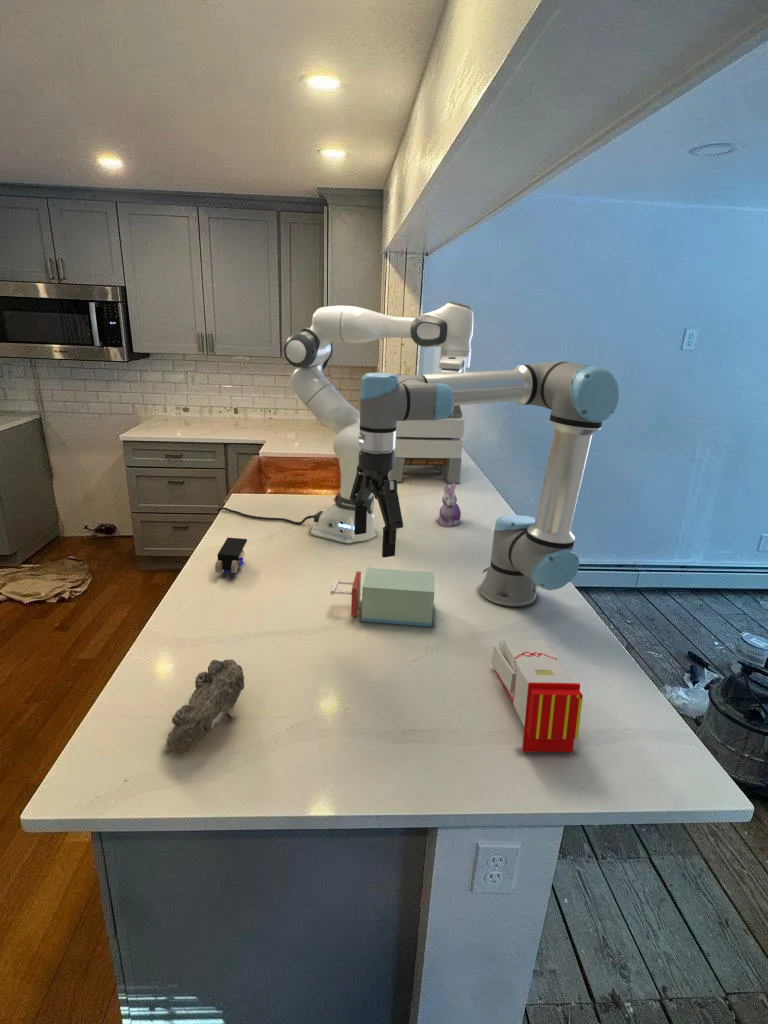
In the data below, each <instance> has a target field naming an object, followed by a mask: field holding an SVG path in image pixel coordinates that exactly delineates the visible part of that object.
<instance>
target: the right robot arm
mask: <svg viewBox="0 0 768 1024" xmlns="http://www.w3.org/2000/svg"><path fill="white" fill-rule="evenodd" d="M620 392H621V391H620V386H619V383H618V380H617V379H616V378H615V375H613V373H612V372H610V371H609V370H608V369H605V368H602V367H599V366H597V365H593V364H582V363H575V362H570V361H564V360H563V361H561V360H558V361H547V362H539V363H531V364H519V365H516V367H514V368H513V369H505V370H484V371H468V372H466V371H465V372H464V373H445V374H441V373H429V374H428V373H427V374H412V375H411V374H410V375H405V374H402V373H390V372H367V373H365V374H363V375H362V377H361V380H360V389H359V395H358V397H359V412H360V435H359V436H358V439H359V447H360V448H361V450H360V451H359V465H358V466H357V473H356V477H355V481H354V484H353V488H352V491H351V495H350V500H351V501H353V504H354V506H355V521H354V534H355V535H358V534H364V533H366V524H367V506H363V505H365V504H368V503H367V500H368V498H369V496H370V495H371V493H373V496H374V500H377V503H378V506H379V509H380V512H381V516H382V519H383V520H382V521H383V523H384V526H383V527H382V543H381V544H382V547H381V557H382V558H383V559H385V558H390V557H391V558H392V557H395V556H396V547H397V546H396V543H397V529H403V528H404V522H403V516H402V511H401V510H402V509H401V504H400V501H399V500H400V499H399V494H398V482H397V481H396V480H390V478H389V474H390V471H391V470H392V469H393V468H394V464H395V452H394V451H393V450H394V449H395V445H396V423H397V421H411V420H433V421H435V420H440V419H446V418H448V417H449V416H450V415H451V413H452V410H453V406H456V405H460V406H468V405H481V404H482V405H484V404H485V405H486V404H497V403H498V404H499V403H509V402H514V403H515V404H516V405H518V406H536V407H541V408H545V409H548V410H551V411H550V416H549V423H550V424H551V426H552V427H553V435H552V439H551V443H550V449H549V454H548V459H547V463H546V468H545V474H544V476H543V477H544V478H543V482H542V487H541V492H540V496H539V502H538V506H537V511H536V516H535V517H533V516H529V515H520V514H510V515H503V516H500V517H498V518H497V519H496V521H495V524H494V529H493V539H492V547H491V556H490V563H489V566H488V567H486V568H484V569H483V570H482V573H483V574H484V573H486V574H485V577H484V579H483V580H482V583H481V585H480V593H481V595H482V596H483V598H484V599H486V600H487V601H489V602H491V603H493V604H495V605H498V606H503V607H508V608H521V607H527V606H530V605H532V604H534V603H535V601H536V599H537V588H536V585H537V586H539V587H540V588H542V589H543V590H546V591H555V590H559V589H562V588H564V587H566V585H567V584H569V583H571V582H572V580H573V579H574V578H575V577H576V575H577V574H578V571H579V569H580V558H579V557H578V554H577V553H576V552H574V550H573V549H574V544H575V540H576V537H575V535H574V533H573V532H572V531H571V530H572V525H573V521H574V515H575V511H576V507H577V503H578V498H579V494H580V490H581V486H582V482H583V477H584V472H585V468H586V463H587V460H588V456H589V450H590V446H591V442H592V437H593V435H594V434H596V433H597V432H599V431H600V430H601V429H602V425H603V422H605V421H606V420H608V419H609V418H610V417H612V416H611V415H612V414H614V413H615V412H616V410H617V409H618V406H619V401H620ZM355 494H357V495H355Z"/></svg>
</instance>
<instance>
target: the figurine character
mask: <svg viewBox="0 0 768 1024" xmlns="http://www.w3.org/2000/svg"><path fill="white" fill-rule="evenodd" d="M247 542H248V538H240V537H226V539H225V541H224V543H223V544H222V546H221V547H220V549H219V551H218V552H217V560H216V562H215V564H214V572H215V573H221V577H222V578H224V577H225V576H226V574H227V573H230V574H231V573H232V574H231V578H234V577H235V575H236V573H237V572H239V571H240V567H242V566H243V565H244V564H245V562H244V558H245V551H244V547H245V546H246V544H247Z"/></svg>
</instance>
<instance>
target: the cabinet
mask: <svg viewBox="0 0 768 1024" xmlns="http://www.w3.org/2000/svg"><path fill="white" fill-rule="evenodd" d="M361 587H362V588H361V591H362V592H361V618H360V619H361V622H366V623H379V624H391V625H392V624H394V625H407V626H417V627H418V626H419V627H420V626H421V627H433V615H434V603H435V572H434V571H421V570H408V569H407V570H405V569H393V568H392V569H391V568H378V567H366V570H365V574H364V579H363V583H362V586H361Z"/></svg>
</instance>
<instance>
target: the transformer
mask: <svg viewBox="0 0 768 1024" xmlns="http://www.w3.org/2000/svg"><path fill="white" fill-rule="evenodd" d="M464 429H465V419H464V418H463V411H462V408H461V405H456V406H453V410H452V413H451V415H450V416H449V417H448V418H446V419H440V420H435V421H433V420H411V421H397V423H396V445H395V449H394V450H393V451H394V452H395V464H394V468H393V469H392V470H391V471H389V474H388V476H389V480H396V481H397V483H402V482H403V475H404V469H405V466H406V467H407V466H411V467H412V466H413V467H415V466H416V467H417V466H418V467H436V468H437V470H438V469H439V473H440V474H441V475H443V478H444V479H445V481H446V482H447V483H449V484H453V483H455V484H459V483H461V472H462V461H463V460H462V453H463V442H464V441H463V440H462V439H463V438H464V431H465V430H464Z"/></svg>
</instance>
